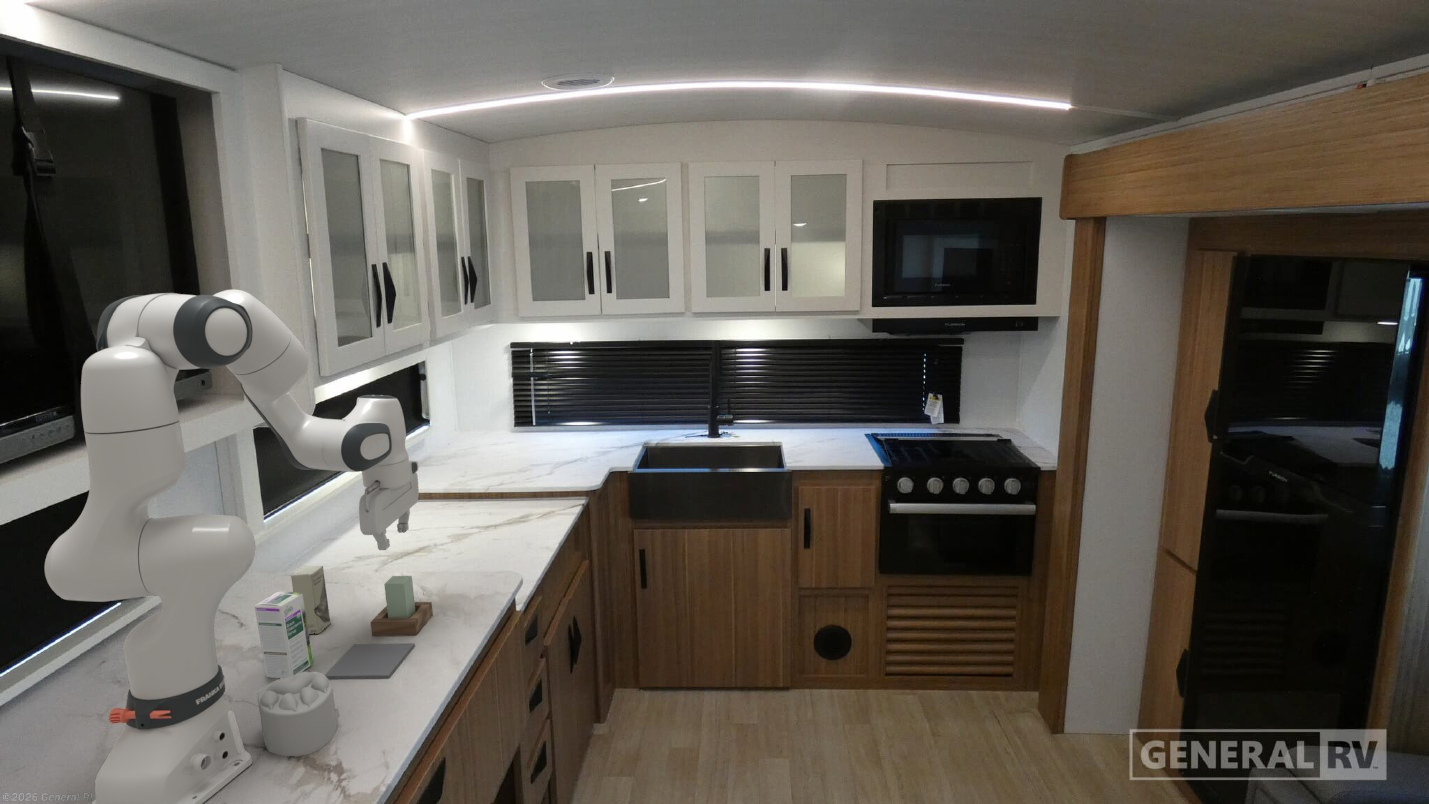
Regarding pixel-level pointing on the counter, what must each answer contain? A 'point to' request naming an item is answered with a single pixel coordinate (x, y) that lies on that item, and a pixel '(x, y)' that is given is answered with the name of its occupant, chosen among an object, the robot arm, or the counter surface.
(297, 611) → the syrup box
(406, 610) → the peg
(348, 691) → the counter surface
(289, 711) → the lumpy-topped squat cylinder
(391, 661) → the mat
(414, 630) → the block
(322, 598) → the box
